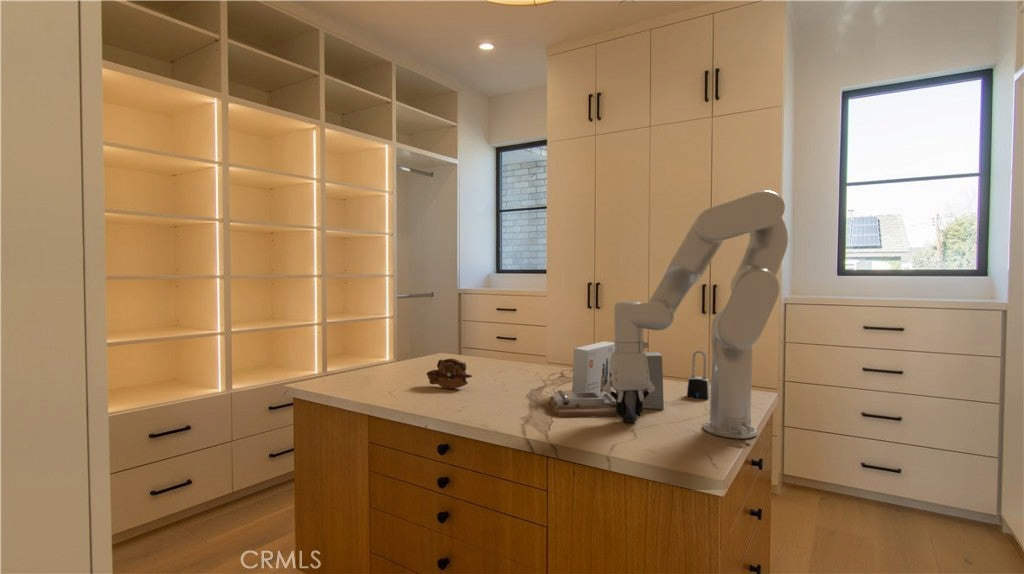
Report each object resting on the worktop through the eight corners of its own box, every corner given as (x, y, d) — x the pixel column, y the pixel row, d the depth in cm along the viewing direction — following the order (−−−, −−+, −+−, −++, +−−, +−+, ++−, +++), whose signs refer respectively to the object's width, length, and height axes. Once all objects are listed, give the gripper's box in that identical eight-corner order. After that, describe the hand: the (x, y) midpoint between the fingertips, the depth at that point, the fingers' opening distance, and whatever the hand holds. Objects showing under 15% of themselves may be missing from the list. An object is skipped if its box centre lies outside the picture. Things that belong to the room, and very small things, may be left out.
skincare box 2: (664, 410, 147) (665, 356, 147) (638, 408, 149) (639, 355, 148) (661, 402, 156) (662, 351, 155) (637, 401, 157) (638, 350, 156)
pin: (639, 421, 134) (638, 388, 134) (624, 422, 134) (624, 388, 134) (634, 417, 138) (634, 384, 138) (619, 417, 138) (619, 385, 138)
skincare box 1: (586, 401, 157) (587, 350, 156) (571, 398, 160) (571, 348, 160) (616, 388, 174) (617, 342, 173) (602, 385, 177) (602, 340, 177)
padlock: (710, 397, 163) (711, 350, 162) (708, 400, 159) (709, 352, 159) (688, 394, 166) (689, 348, 166) (686, 397, 163) (687, 350, 162)
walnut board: (626, 416, 142) (626, 410, 141) (558, 417, 140) (559, 411, 140) (610, 400, 157) (610, 395, 157) (549, 401, 156) (549, 396, 156)
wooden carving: (423, 388, 171) (423, 358, 171) (429, 385, 176) (429, 356, 175) (469, 392, 167) (469, 361, 166) (474, 388, 171) (474, 359, 171)
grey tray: (621, 408, 145) (621, 397, 145) (558, 409, 143) (558, 398, 143) (612, 400, 154) (612, 389, 154) (553, 400, 152) (553, 390, 152)
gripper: (654, 344, 140) (654, 410, 141) (594, 346, 139) (595, 412, 139) (664, 348, 132) (664, 418, 133) (601, 350, 131) (602, 420, 132)
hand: (629, 414), depth 136 cm, fingers closed on pin, 4 cm apart
